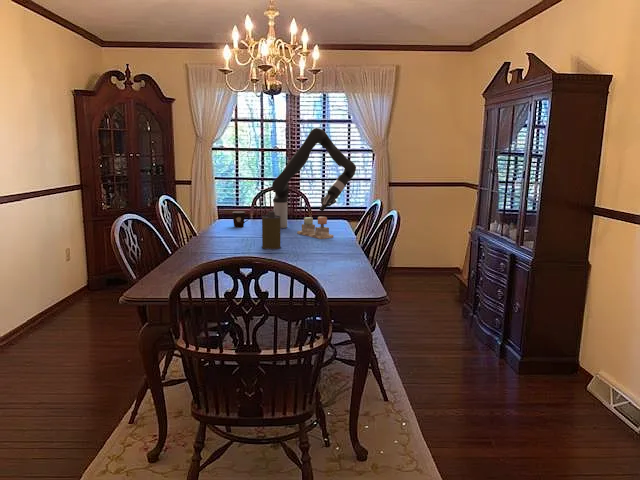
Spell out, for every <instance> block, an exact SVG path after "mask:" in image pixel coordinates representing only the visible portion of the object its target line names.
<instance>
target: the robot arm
mask: <svg viewBox="0 0 640 480" xmlns="http://www.w3.org/2000/svg"><path fill="white" fill-rule="evenodd" d="M317 144H319V145H320V146H321V147H323V148H324V149H325V150H326V152H327V153H328V155H329V156H330V158H331V159H332V160H333V162H334V163H336V164H337V165H338V166H339V167H343V169H344V170H343V172H341V174H339V176H338V177H337V178H336V180H334V182H333V183H332V184H331V186H330V187H329V189H328V190H327V193H326V195H325V196H321V199H320V204H321V206H320V207H319V211H320V212H324V210H326V208H328V207H331V206H333V205H334V204H335V203H337V200H336V199H338V198H339V196H340V195H341V194H342V193H343V191H344V189H345V187H346V186H347V184H348V183H349V182H350V181H351V180H352V179H353V177H354V176H355V174H356V171H357V166H356V164H355V163H354V161H352V160H351V159H349V158H348V157H346V156H345V155H344V154H343V153H342V151H341V150H340V149H339V148H338V147H337V146H336V145H335V144H334V143H333V141H332V140H331V138H330V137H329V135H328V134H327V132H326V131H325V130H324V129H321V128H318V127H315V128H313V129H312V130H310V131H309V134H308V135H307V137H306V139H305V140H304V142H303V143H302V144H301V146H300V147H299V148H298V150H297V151H296V152H295V153H294V154H293V156H292V157H291V158H290V160H289V162H288V163H287V164H286V166H285V167H284V169H283V170H282V171H281V172H280V174H279V175H278V176H277V177H276V178H274V180H273V182H272V185H271V186H272V187H271V188H272V190H273V191H274V192H275V195H274V197H273V211H274V212H275V215H278V216H281V221H280V229H283V228H288V199H289V189H290V188H289V182H290V180H291V179H292V178H293V177H294V176H296V174H297V173H299V172H300V171H301V170H302V169H303V167H304V166H305V165H306V163H307V162H308V160H309V157H310V155H311V152H312V151H313V149H314V148H315V146H316V145H317Z"/></svg>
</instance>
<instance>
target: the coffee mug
mask: <svg viewBox="0 0 640 480" xmlns="http://www.w3.org/2000/svg"><path fill="white" fill-rule="evenodd" d="M246 216H249V218H248V219H246V220H245V217H246ZM251 218H252V216H251V214H249V213H246V211H240V210H237V211H232V219H233V226H234V228H244V225H245V223H247V222H248V221H249V220H250V219H251Z"/></svg>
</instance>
